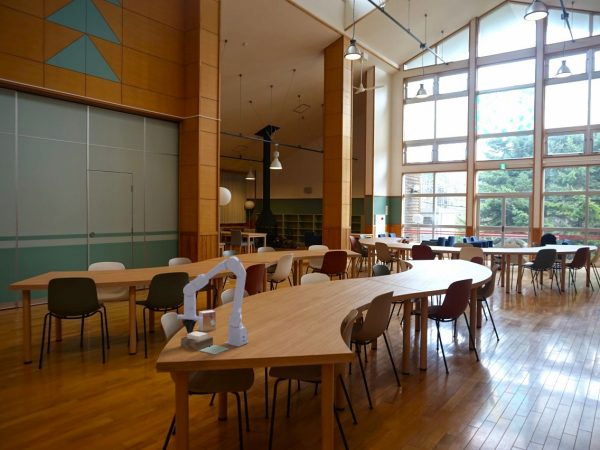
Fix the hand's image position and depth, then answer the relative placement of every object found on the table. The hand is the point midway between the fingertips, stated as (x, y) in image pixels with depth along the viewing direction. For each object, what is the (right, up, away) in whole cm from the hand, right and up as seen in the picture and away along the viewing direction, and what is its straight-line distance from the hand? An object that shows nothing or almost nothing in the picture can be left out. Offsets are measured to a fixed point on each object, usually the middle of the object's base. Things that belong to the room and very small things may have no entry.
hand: (190, 334), depth 215 cm
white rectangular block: (+4, -1, -3) cm, 5 cm away
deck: (+4, -5, -3) cm, 7 cm away
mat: (+14, -5, -9) cm, 18 cm away
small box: (+3, -5, +27) cm, 27 cm away
